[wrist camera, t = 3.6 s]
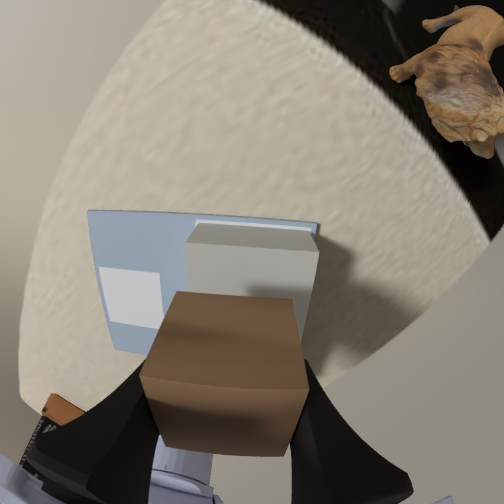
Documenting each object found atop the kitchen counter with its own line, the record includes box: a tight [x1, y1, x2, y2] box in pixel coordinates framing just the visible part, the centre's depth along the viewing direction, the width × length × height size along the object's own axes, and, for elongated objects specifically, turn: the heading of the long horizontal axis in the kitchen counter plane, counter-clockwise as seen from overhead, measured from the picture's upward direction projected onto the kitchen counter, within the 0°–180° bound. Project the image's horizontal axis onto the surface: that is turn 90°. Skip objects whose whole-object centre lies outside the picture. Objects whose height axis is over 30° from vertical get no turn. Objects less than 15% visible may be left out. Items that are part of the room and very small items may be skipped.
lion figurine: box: [390, 5, 504, 159], centre depth 8 cm, size 15×5×9 cm, turn 153°
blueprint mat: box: [87, 210, 317, 355], centre depth 20 cm, size 13×16×1 cm
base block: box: [185, 223, 319, 342], centre depth 17 cm, size 7×7×4 cm
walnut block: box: [139, 291, 309, 457], centre depth 10 cm, size 5×5×5 cm
